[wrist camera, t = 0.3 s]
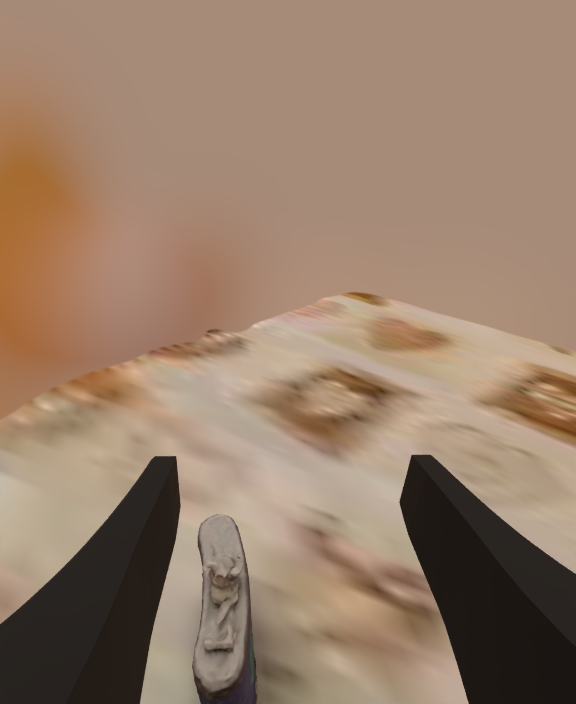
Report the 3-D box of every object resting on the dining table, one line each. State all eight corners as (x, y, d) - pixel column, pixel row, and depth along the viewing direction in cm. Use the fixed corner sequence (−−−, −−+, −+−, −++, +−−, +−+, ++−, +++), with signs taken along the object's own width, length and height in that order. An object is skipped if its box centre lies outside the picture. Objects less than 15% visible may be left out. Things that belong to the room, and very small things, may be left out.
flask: (209, 594, 29) (195, 494, 23) (249, 588, 29) (245, 488, 24) (207, 772, 21) (186, 684, 16) (263, 760, 22) (261, 670, 16)
